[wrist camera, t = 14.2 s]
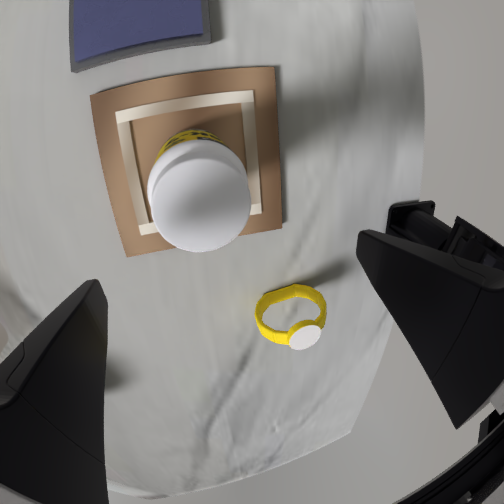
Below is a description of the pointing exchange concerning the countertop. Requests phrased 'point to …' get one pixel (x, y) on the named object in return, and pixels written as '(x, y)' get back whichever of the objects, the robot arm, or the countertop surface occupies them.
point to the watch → (302, 331)
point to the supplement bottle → (198, 192)
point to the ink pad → (133, 28)
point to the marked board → (179, 119)
